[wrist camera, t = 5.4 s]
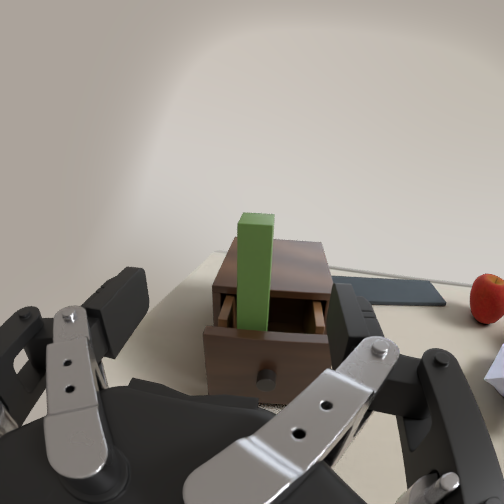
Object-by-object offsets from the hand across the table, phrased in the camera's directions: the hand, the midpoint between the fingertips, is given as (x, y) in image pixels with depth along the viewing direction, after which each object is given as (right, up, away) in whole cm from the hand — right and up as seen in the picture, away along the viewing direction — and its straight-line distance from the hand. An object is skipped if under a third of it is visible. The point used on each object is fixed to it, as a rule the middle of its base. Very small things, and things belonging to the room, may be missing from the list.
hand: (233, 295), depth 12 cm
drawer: (+2, -10, +18) cm, 21 cm away
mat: (+22, -5, +34) cm, 41 cm away
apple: (+38, -9, +25) cm, 47 cm away
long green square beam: (+1, -10, +16) cm, 18 cm away
